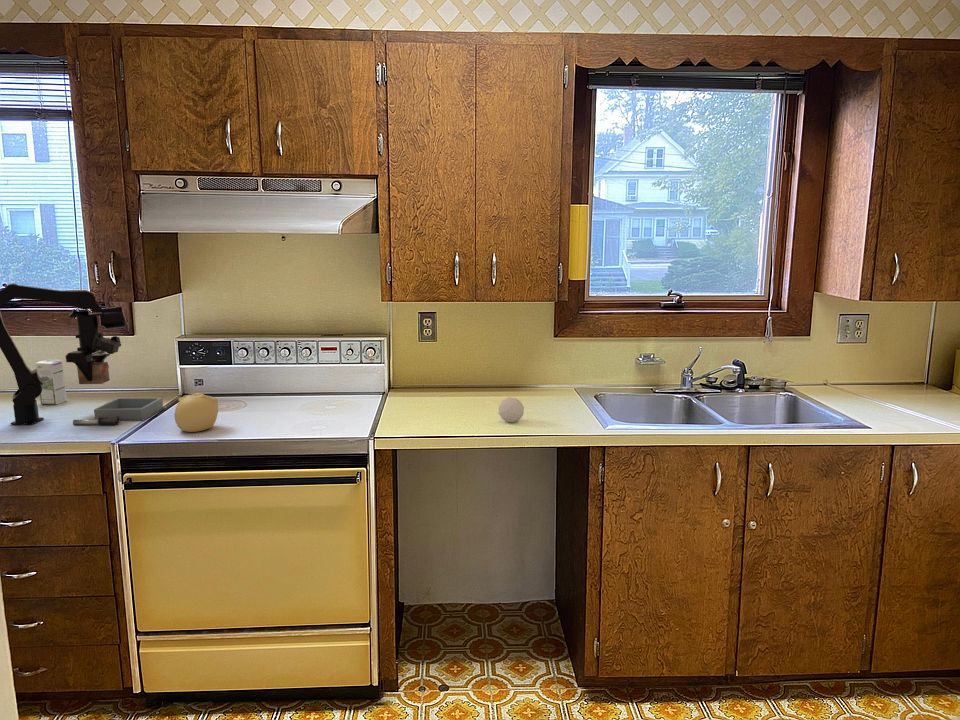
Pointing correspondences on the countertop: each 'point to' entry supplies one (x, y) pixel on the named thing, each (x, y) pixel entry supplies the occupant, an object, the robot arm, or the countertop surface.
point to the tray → (130, 408)
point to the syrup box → (52, 381)
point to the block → (96, 374)
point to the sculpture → (196, 412)
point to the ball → (511, 410)
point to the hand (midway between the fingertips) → (94, 379)
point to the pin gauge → (99, 421)
